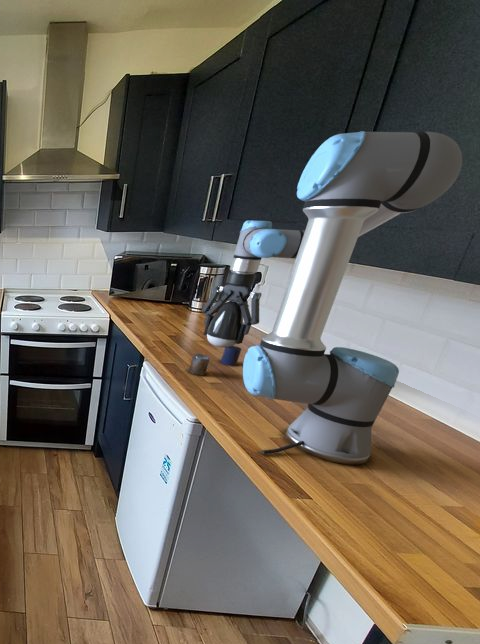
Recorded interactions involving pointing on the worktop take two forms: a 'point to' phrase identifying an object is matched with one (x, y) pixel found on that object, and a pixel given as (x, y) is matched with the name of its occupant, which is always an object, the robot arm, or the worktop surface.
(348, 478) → the worktop surface
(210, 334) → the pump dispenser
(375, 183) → the robot arm
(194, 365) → the dark brown cylinder
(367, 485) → the worktop surface
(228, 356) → the dark blue cylinder
